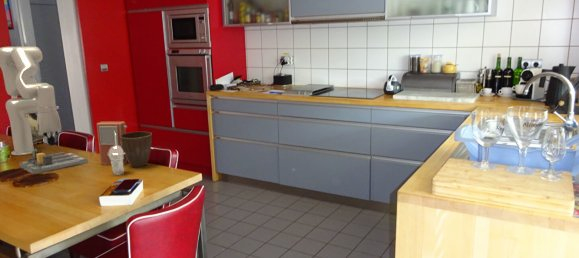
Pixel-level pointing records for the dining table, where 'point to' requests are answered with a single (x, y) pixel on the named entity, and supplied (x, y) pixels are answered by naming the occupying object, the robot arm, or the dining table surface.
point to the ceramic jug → (34, 128)
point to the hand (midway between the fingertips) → (51, 144)
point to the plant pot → (137, 147)
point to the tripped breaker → (39, 157)
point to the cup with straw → (117, 158)
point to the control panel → (109, 138)
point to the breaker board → (51, 162)
